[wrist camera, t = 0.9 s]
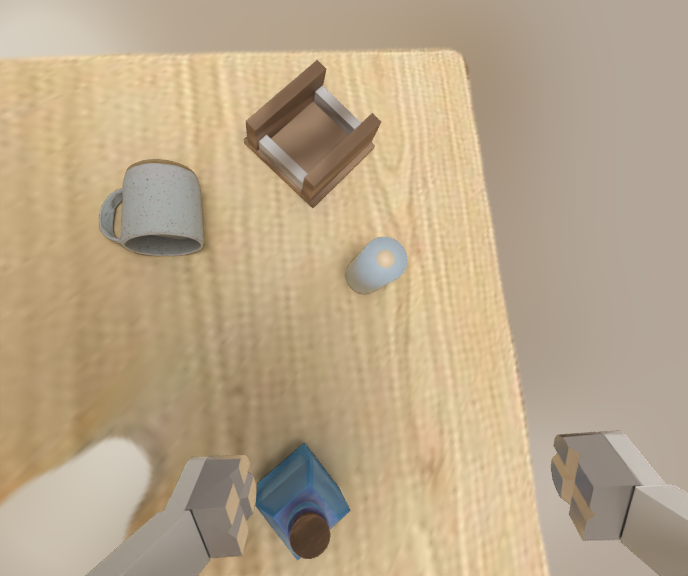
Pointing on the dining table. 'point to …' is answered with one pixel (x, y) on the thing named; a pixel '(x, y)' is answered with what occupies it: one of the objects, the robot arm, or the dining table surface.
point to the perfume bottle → (301, 503)
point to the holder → (309, 136)
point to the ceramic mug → (156, 210)
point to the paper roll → (376, 265)
